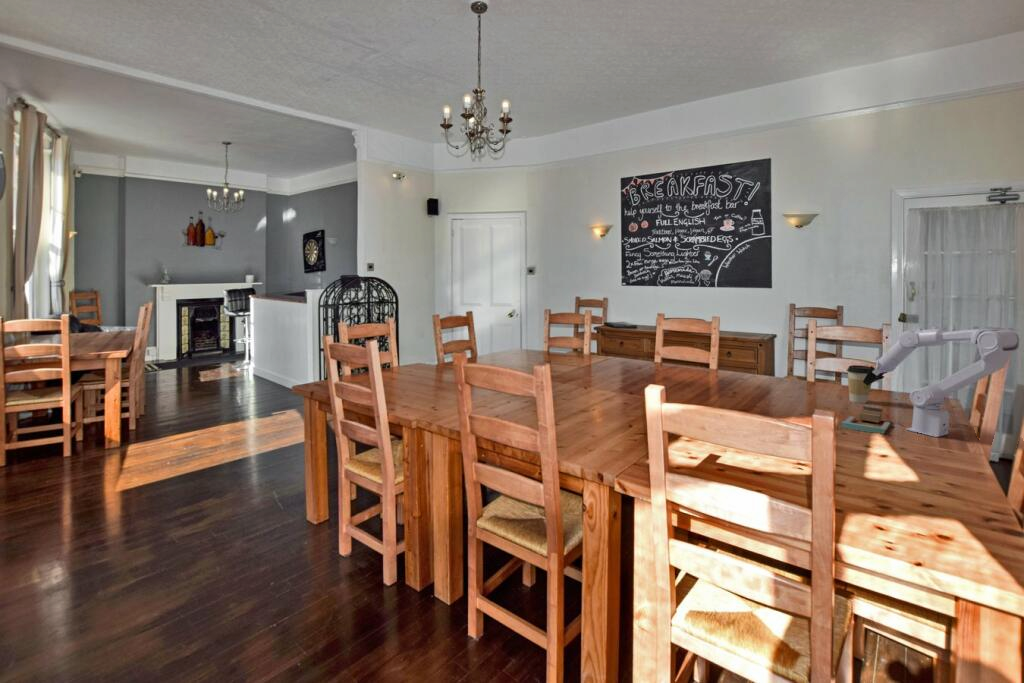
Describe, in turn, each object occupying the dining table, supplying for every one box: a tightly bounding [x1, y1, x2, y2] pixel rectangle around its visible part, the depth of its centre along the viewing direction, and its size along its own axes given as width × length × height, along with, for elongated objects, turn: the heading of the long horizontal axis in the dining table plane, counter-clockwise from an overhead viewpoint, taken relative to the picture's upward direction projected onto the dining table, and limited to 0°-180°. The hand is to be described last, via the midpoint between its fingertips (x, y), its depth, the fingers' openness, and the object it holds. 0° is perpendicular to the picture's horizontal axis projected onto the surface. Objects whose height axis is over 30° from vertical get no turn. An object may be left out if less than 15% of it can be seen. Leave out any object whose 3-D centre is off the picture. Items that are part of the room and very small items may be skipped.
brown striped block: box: [858, 406, 883, 425], centre depth 197 cm, size 7×6×4 cm
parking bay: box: [840, 415, 891, 435], centre depth 190 cm, size 14×12×2 cm
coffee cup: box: [846, 364, 872, 404], centre depth 225 cm, size 10×10×15 cm
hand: (869, 380), depth 202 cm, fingers open, 7 cm apart
